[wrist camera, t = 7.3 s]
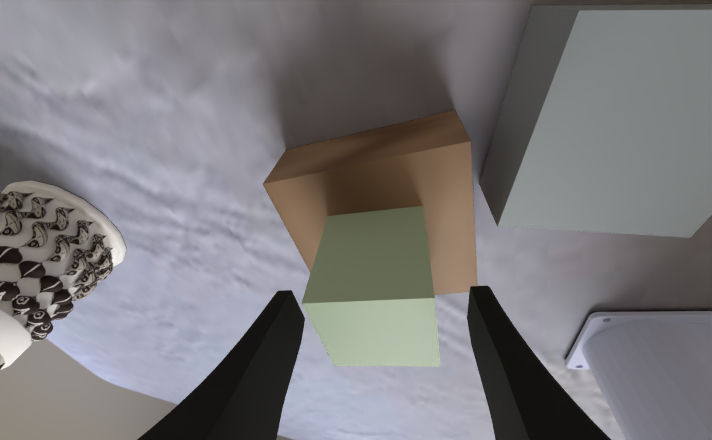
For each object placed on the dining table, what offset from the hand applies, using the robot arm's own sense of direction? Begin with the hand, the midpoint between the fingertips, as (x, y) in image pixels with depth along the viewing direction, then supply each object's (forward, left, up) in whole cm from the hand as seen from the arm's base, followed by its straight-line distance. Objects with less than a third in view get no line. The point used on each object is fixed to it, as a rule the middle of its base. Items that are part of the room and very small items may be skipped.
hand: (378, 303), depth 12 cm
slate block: (-10, -4, -8) cm, 13 cm away
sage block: (0, 0, -4) cm, 4 cm away
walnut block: (0, 0, -8) cm, 8 cm away
